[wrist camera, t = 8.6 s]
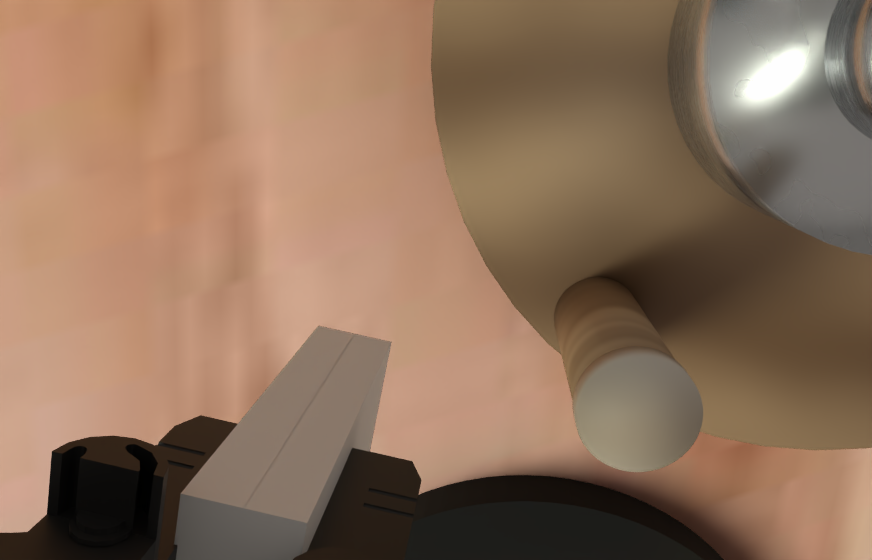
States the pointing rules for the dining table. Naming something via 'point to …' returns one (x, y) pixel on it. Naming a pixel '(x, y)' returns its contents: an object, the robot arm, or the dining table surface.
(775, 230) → the turntable
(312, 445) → the robot arm
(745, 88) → the cover
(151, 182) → the dining table surface
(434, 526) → the wireless charger
